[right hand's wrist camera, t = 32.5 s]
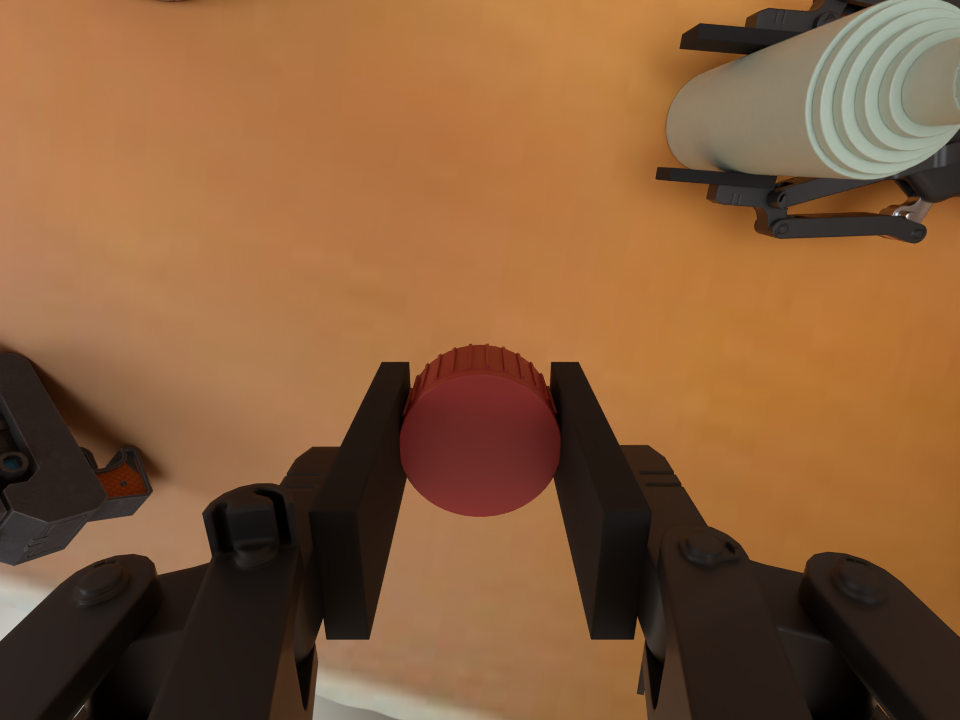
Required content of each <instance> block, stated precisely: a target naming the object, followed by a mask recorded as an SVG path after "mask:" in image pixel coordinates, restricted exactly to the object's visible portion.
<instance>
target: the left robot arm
mask: <svg viewBox="0 0 960 720" xmlns="http://www.w3.org/2000/svg"><path fill="white" fill-rule="evenodd" d="M884 1H887V0H813V5H812V6H811V8H810V10H809V11H797V10H785V9H774V8H767V9H764V10H761V11H759V12H757V13H755V14H753V15H751V16H749V17H747V19H746V23H745V27H736V26H725V25H713V24H702V23H700V24H698V25H697V26H695V27H693V28H692V29H690V30H689V31H687V32H685V33H684V34H682V38H681V44H680V49H688V50H700V51H711V52H723V53H735V54H746V55H749V54H752V53H754V52H757V51H759V50H762V49H764V48H767V47H769V46H772V45H774V44H777V43H779V42H782V41H785V40H787V39H790V38H792V37H795V36H797V35H800V34H802V33H805V32H807V31H810V30H812V29H815V28H817V27H820V26H823V25H825V24H828V23H830V22H833V21H835V20H838V19H840V18H843V16H844V17H845V16H848V15H850V14H853V13H856V12H858V11H861V10H863V9H866V8H868V7H871V6H873V5H876V4H878V3H881V2H884ZM941 1H945V2H948V3H950V4H952V5H954V6H956V7H958V8H959V9H960V0H941ZM776 178H777V176H771V175H757V174H745V173H733V172H720V171H707V170H695V169H682V168H666V167H658V168H657V173H656V179H657V180H667V181H679V182H692V183H704V184H709V189H708V193H707V198H706V199H707V200H709V201H711V202H713V203H718V204H724V205H738V206H751V207H753V208H754V209H755V211H756V214H757V220H756V221H755V224H754V229H755V231H756V232H757V233H760V234H763V235H767V236H771V237H775V238H780V239H787V238H815V237H842V236H870V235H878V236H880V237H883V238H888V239H893V240H898V241H903V242H909V243H918V242H920V241H922V240H923V239H924V237H925V236H926V233H927V229H926V227H925V226H924V225H922V224H921V222H922V220H923V219H924V217H925V215H926V214H927V212H928V211H929V209H930V207H931V206H932V204H933V203H938V202H942V201H944V200H946V199H949V198H952V197H960V129H959V130H958V131H957V132H956V133H955V135H954V136H953V137H952V138H951V139H950V140H949V141H948V142H947V143H946V144H945V145H944V146H943V147H942V148H941V149H940V150H938V151H937V152H936V153H935V154H933V155H932V156H930V157H929V158H927V159H926V160H924V161H922V162H921V163H919V164H917V165H915V166H913V167H910V168H908V169H906V170H904V171H902V172H900V173H897V174H895V175H892V176H888V177H885V178H879V179H872V180H858V179H838V178H818V177H795V178H791V179H788V180H784V181H781V182H777V183H775V182H776ZM891 179H893V180H894V181H895V182H896V184H897V185H898V186H899V187H900V188H901V189H902V191H903V192H904V193H905V194H906V195H907V197H908V199H907V201H906V202H904V203H903V204H900V205H890V206H888V207H887V208H885V209H882V210H881V211H880V213H879V214H876V213H868V212H849V213H822V214H795V215H787V210H788V208H787V207H789V206H792V205H796V204H800V203H803V202H807V201H811V200H814V199H818V198H821V197H825V196H829V195H832V194H836V193H839V192H843V191H847V190H850V189H854V188H857V187H861V186H865V185H868V184H872V183H875V182H879V181H883V180H891Z"/></svg>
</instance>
